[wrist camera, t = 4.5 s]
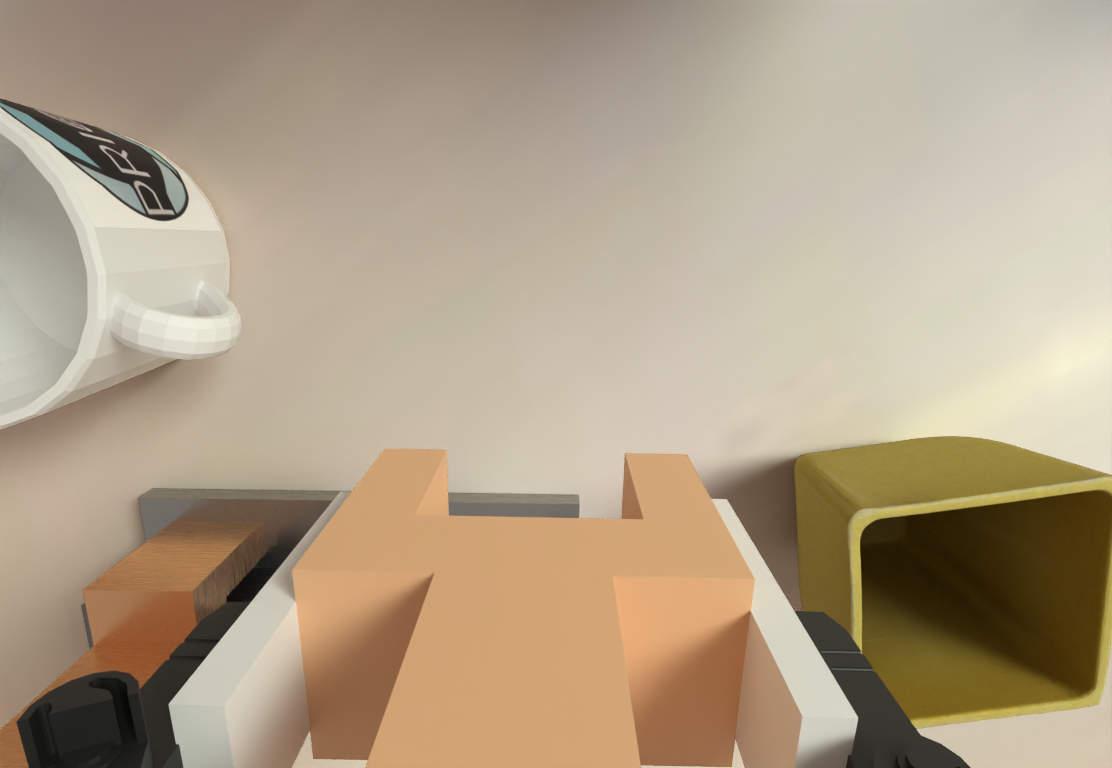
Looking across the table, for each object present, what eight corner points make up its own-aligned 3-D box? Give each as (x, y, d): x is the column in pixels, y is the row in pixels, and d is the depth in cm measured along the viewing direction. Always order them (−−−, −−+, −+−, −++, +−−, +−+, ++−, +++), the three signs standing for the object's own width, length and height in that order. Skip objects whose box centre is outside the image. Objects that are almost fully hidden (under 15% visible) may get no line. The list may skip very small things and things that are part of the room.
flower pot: (942, 568, 29) (1108, 710, 20) (764, 591, 29) (854, 741, 21) (945, 397, 27) (1133, 475, 18) (753, 423, 27) (848, 512, 19)
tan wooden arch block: (687, 454, 15) (1024, 1074, 4) (674, 608, 16) (909, 1403, 5) (384, 448, 15) (-77, 1052, 4) (394, 602, 16) (57, 1387, 5)
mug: (-22, 333, 26) (-269, 376, 18) (1, 85, 24) (-272, 11, 16) (280, 423, 27) (170, 500, 19) (331, 195, 25) (229, 177, 17)
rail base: (152, 488, 28) (-156, 683, 16) (578, 494, 28) (597, 692, 16) (181, 669, 30) (-67, 960, 18) (572, 674, 30) (586, 965, 18)
